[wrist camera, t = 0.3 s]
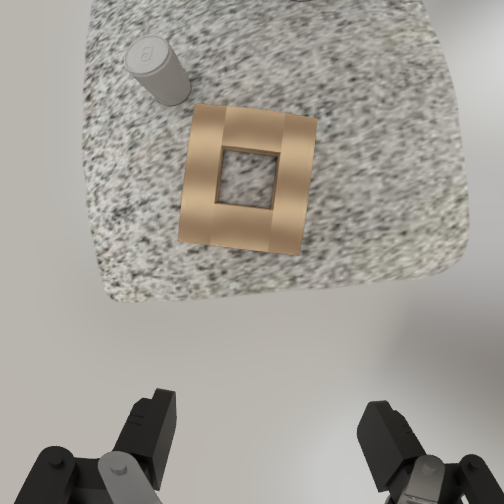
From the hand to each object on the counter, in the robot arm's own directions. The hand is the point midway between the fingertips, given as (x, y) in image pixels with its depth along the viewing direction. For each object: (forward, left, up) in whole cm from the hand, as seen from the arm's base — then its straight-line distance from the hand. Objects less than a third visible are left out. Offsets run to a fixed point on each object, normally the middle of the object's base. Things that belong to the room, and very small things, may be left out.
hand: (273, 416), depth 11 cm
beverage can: (-21, -13, -28) cm, 38 cm away
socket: (-10, -2, -28) cm, 30 cm away
